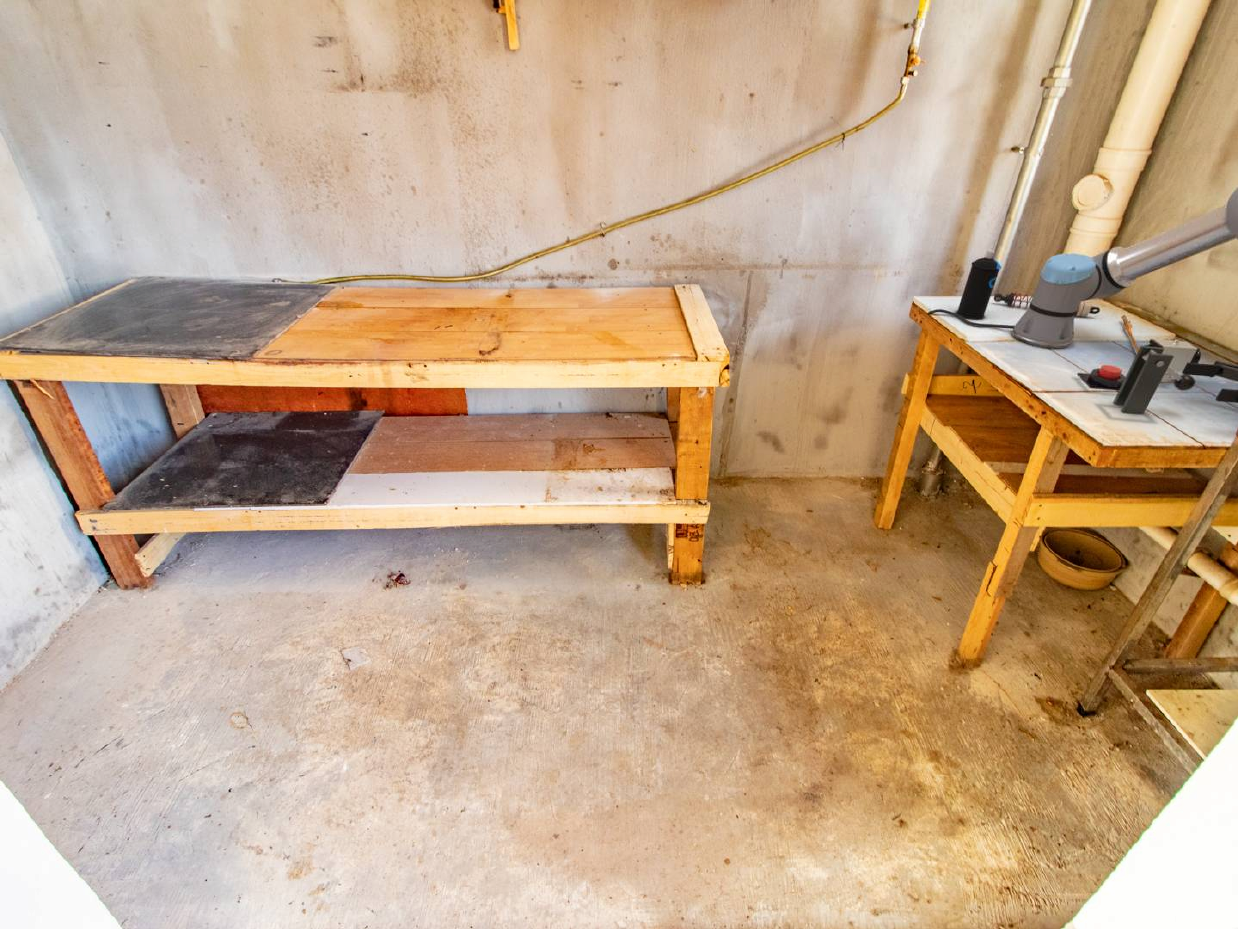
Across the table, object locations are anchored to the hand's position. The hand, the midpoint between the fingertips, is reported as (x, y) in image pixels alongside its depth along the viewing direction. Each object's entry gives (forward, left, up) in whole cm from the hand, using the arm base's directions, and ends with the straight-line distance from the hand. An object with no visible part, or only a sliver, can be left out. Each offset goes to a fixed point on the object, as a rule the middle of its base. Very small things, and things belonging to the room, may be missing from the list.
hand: (1201, 381), depth 146 cm
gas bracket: (-11, -4, -10) cm, 15 cm away
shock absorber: (-29, +65, -10) cm, 72 cm away
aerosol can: (-50, +47, -10) cm, 69 cm away
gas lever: (-8, -3, 0) cm, 8 cm away
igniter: (-15, +9, -6) cm, 19 cm away
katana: (-7, +49, -10) cm, 51 cm away
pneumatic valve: (-4, +19, -10) cm, 22 cm away
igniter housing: (-15, +9, -10) cm, 20 cm away
